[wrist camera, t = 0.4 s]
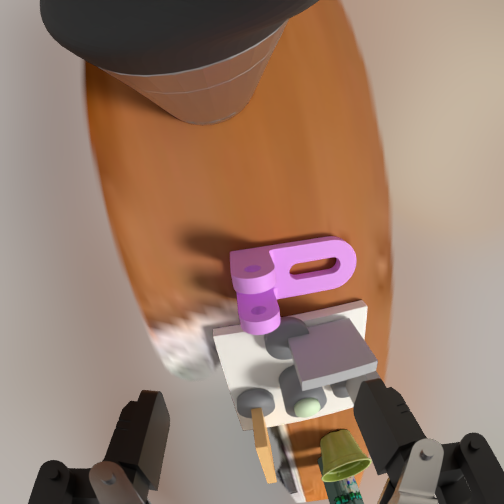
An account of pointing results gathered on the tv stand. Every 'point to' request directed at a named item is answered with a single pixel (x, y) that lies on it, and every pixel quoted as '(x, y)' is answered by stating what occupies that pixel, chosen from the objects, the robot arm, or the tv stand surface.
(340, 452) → the plant pot
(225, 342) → the plate
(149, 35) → the robot arm
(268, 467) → the tan upright panel
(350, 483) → the can
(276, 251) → the bracket
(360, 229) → the tv stand surface
